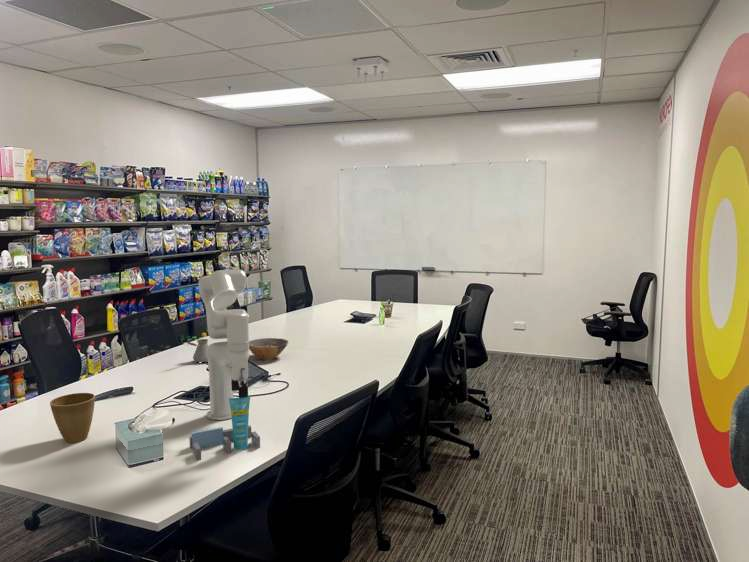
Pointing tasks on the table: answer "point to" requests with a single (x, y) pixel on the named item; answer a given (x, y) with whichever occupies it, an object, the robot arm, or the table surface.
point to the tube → (240, 421)
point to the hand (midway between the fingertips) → (239, 393)
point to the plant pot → (73, 415)
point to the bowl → (267, 347)
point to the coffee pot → (200, 350)
